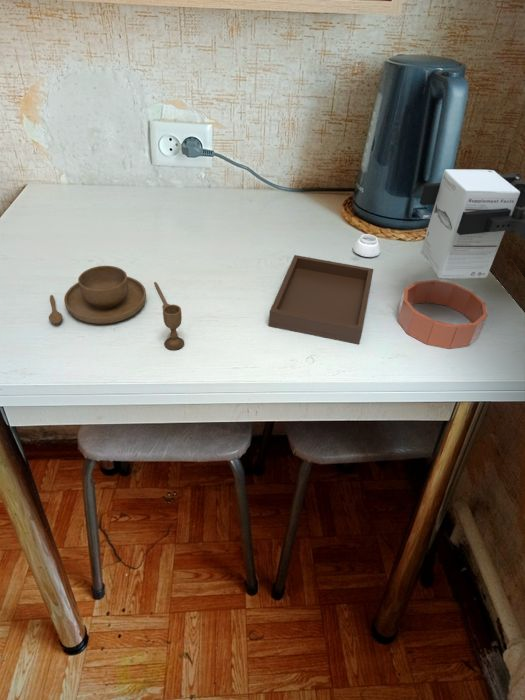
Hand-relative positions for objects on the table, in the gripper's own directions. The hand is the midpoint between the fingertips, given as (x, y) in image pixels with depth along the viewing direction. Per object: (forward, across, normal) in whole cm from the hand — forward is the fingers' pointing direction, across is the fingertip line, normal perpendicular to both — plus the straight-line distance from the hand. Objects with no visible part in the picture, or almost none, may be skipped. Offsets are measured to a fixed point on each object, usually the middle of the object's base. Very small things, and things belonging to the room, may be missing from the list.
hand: (441, 208), depth 66 cm
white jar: (-4, +23, -19) cm, 30 cm away
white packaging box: (-5, 0, -9) cm, 10 cm away
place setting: (+43, +12, -19) cm, 48 cm away
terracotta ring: (-5, 0, -19) cm, 20 cm away
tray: (+10, +9, -19) cm, 23 cm away
